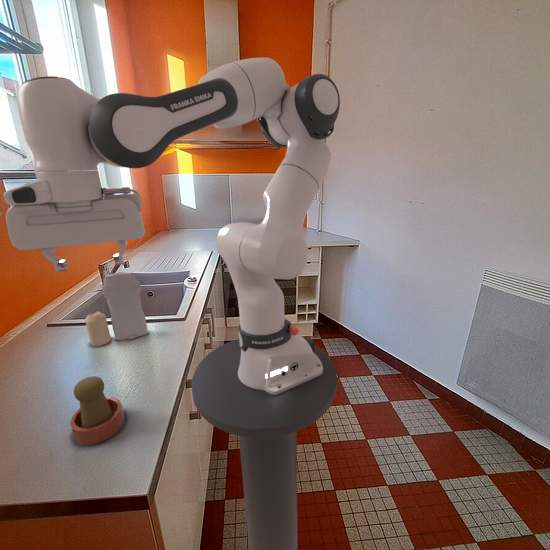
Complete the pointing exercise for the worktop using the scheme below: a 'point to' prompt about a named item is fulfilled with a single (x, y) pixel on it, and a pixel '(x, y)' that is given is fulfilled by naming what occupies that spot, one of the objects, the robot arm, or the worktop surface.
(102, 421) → the cork
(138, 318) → the grey tall flat block
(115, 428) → the holder
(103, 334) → the candle
